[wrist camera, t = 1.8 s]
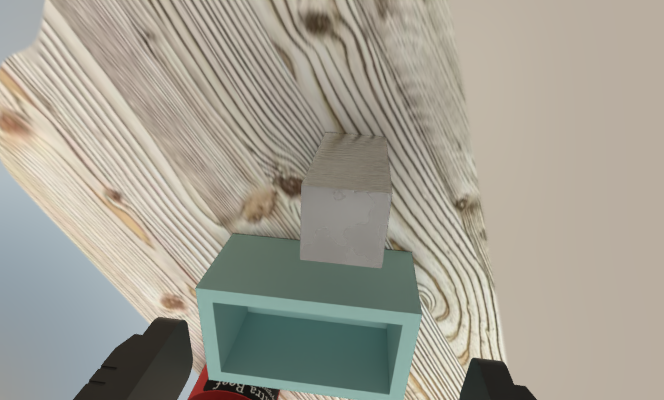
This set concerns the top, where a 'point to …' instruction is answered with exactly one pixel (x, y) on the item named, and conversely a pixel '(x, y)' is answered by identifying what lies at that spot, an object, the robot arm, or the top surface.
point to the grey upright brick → (346, 201)
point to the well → (309, 320)
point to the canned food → (229, 390)
